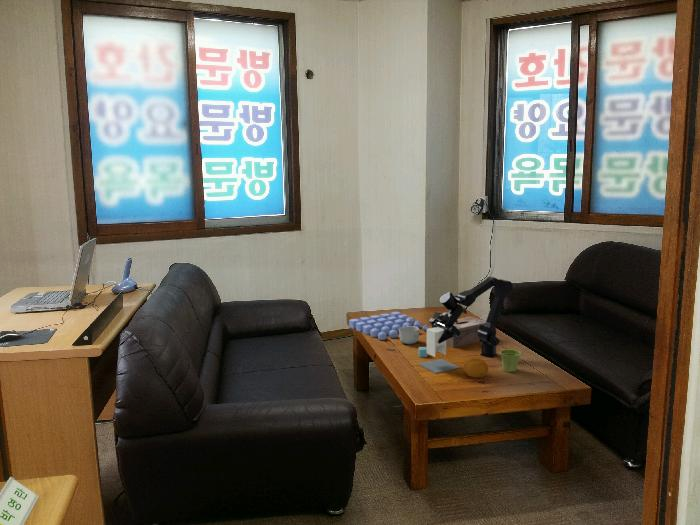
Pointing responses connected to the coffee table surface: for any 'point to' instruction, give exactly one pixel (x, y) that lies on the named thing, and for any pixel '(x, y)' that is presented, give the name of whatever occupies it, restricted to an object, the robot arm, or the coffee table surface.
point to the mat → (439, 366)
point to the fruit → (476, 368)
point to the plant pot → (510, 359)
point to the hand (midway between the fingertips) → (434, 341)
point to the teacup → (409, 334)
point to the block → (422, 351)
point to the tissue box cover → (466, 332)
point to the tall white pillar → (435, 341)
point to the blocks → (384, 324)
